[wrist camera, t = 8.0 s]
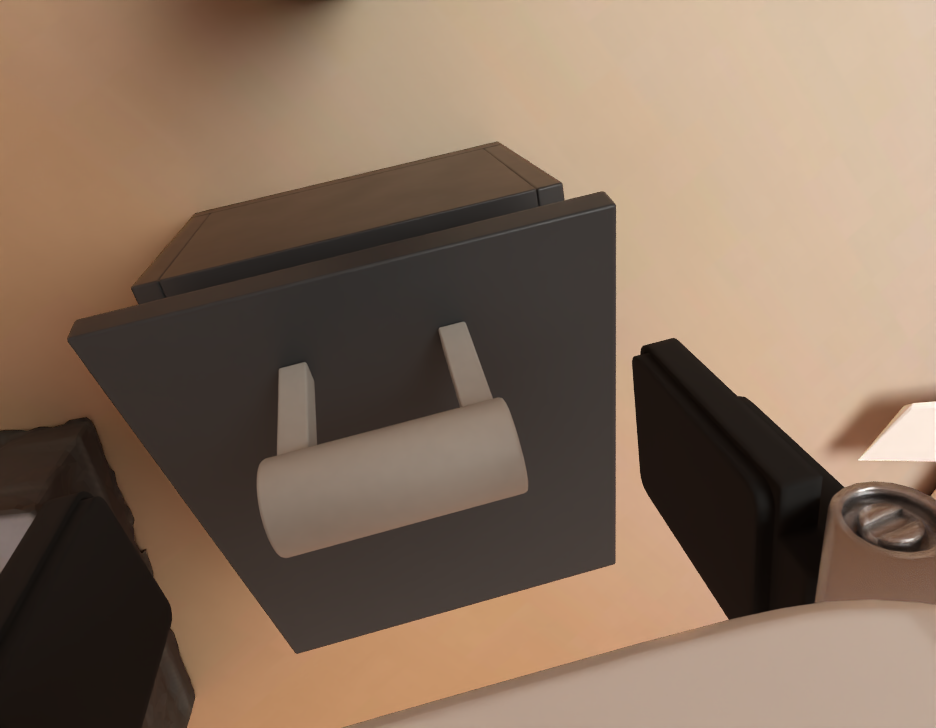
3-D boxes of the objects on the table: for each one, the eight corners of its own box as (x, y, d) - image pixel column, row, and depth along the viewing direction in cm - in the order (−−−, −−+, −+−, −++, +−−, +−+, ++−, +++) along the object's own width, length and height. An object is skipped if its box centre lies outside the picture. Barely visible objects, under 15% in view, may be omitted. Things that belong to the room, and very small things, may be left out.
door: (73, 318, 14) (-20, 527, 10) (604, 189, 15) (730, 331, 11) (295, 635, 25) (297, 808, 20) (608, 547, 25) (674, 695, 21)
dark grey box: (194, 213, 26) (129, 287, 18) (498, 140, 26) (562, 182, 19) (307, 493, 32) (296, 635, 25) (546, 429, 33) (608, 547, 25)
